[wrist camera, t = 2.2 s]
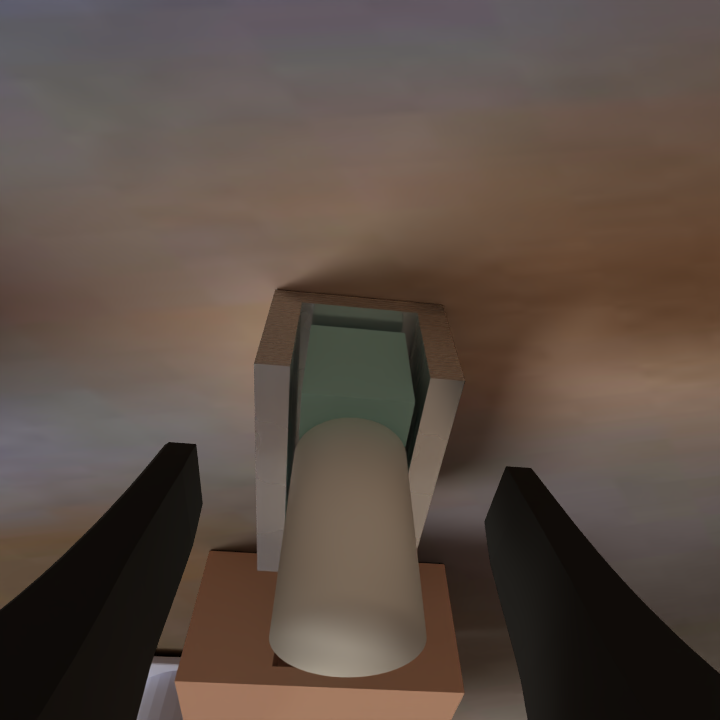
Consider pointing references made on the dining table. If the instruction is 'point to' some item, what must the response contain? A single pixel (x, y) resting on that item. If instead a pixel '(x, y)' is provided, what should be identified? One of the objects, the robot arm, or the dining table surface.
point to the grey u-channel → (284, 386)
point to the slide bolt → (350, 513)
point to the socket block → (292, 685)
